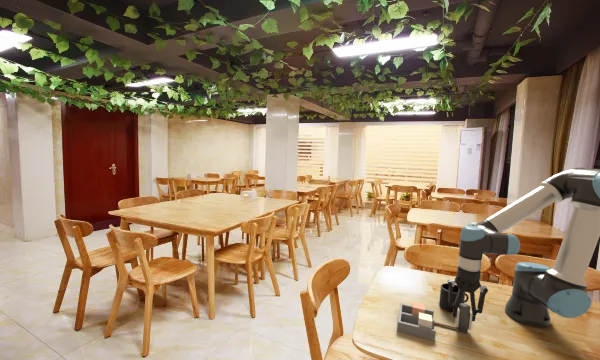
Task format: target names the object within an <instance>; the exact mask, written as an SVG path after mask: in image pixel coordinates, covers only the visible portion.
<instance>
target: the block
mask: <svg viewBox="0 0 600 360" xmlns="http://www.w3.org/2000/svg"><path fill="white" fill-rule="evenodd" d="M418 326H422V327H426V328H430V329H432V315H429V314H424V313H420V312H419V318H418Z"/></svg>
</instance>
